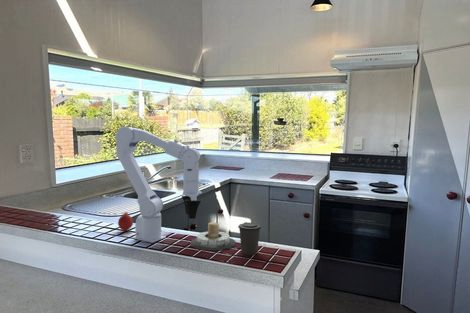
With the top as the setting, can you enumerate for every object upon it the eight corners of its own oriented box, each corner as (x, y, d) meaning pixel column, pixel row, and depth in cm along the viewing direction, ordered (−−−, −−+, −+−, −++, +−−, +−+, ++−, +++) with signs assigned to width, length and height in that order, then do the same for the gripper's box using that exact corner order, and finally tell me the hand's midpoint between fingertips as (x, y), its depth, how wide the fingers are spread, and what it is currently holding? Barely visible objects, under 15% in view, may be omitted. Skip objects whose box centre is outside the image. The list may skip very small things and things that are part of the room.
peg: (205, 242, 123) (206, 224, 123) (211, 240, 127) (211, 221, 127) (214, 244, 122) (215, 225, 121) (220, 241, 125) (220, 223, 125)
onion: (128, 233, 134) (128, 214, 134) (115, 232, 135) (115, 213, 135) (135, 230, 140) (135, 211, 140) (122, 229, 141) (122, 210, 141)
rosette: (180, 245, 121) (180, 237, 121) (206, 234, 136) (206, 227, 136) (220, 253, 113) (221, 245, 113) (243, 240, 128) (244, 233, 128)
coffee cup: (242, 247, 120) (242, 219, 120) (263, 250, 117) (264, 222, 117) (234, 254, 113) (234, 225, 112) (257, 257, 110) (257, 227, 109)
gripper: (205, 182, 120) (204, 220, 121) (198, 178, 134) (197, 211, 134) (185, 183, 118) (185, 221, 119) (180, 178, 132) (180, 212, 132)
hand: (190, 216), depth 126 cm, fingers open, 7 cm apart
